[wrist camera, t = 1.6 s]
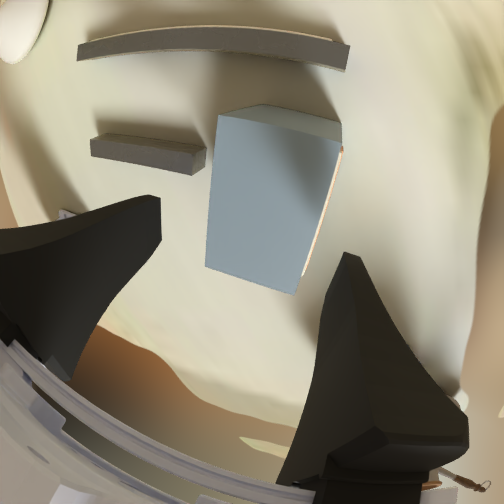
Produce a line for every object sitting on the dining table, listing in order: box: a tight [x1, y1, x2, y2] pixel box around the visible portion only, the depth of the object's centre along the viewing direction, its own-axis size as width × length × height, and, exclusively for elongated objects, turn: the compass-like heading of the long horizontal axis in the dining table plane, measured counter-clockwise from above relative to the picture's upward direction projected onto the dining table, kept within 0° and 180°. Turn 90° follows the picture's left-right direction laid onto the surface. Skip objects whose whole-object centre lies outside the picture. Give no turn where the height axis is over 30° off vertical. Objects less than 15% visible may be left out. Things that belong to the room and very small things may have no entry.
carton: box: [205, 104, 343, 295], centre depth 15 cm, size 5×8×7 cm, turn 171°
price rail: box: [77, 25, 350, 176], centre depth 16 cm, size 20×10×2 cm, turn 81°
